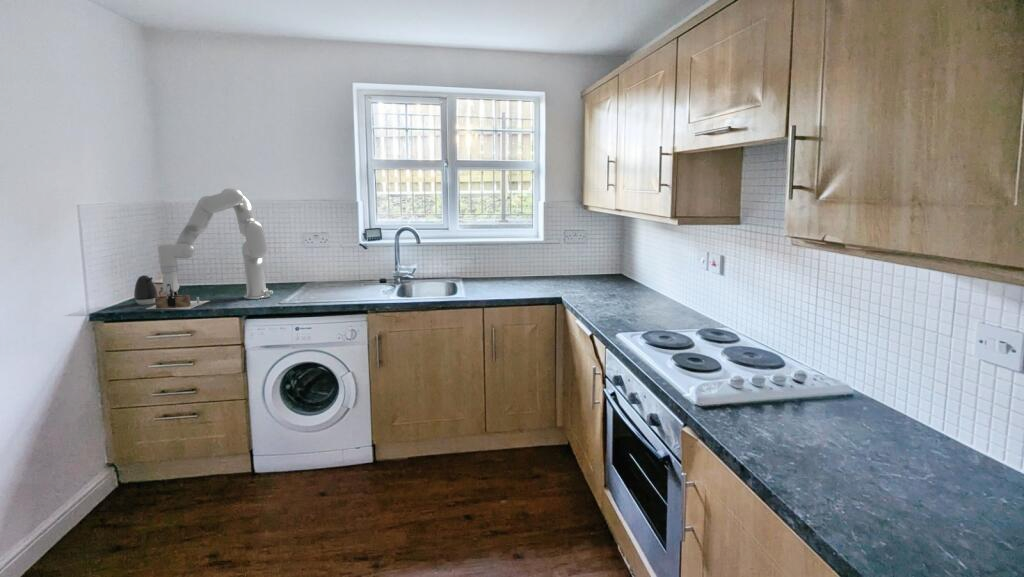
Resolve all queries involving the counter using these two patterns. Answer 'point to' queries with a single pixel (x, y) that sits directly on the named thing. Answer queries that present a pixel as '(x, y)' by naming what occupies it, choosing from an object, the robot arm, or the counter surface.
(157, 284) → the teacup with lid
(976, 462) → the counter surface
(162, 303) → the frame
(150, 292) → the dark grey egg-shaped piece
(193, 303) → the wall board
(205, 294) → the counter surface
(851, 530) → the counter surface
